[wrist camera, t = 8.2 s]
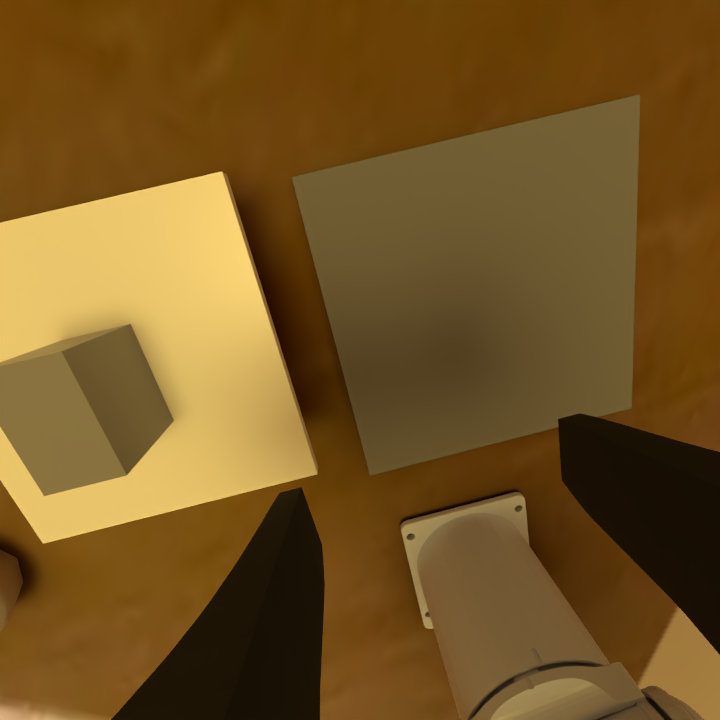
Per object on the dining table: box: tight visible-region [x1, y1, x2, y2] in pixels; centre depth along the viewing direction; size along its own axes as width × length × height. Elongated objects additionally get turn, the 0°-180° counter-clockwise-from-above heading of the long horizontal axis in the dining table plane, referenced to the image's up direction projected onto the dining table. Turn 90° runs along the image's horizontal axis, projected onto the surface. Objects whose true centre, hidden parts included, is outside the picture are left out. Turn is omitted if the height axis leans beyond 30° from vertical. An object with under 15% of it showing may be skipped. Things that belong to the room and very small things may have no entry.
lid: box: [0, 172, 318, 543], centre depth 12 cm, size 12×12×4 cm
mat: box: [292, 95, 640, 475], centre depth 18 cm, size 16×16×1 cm
